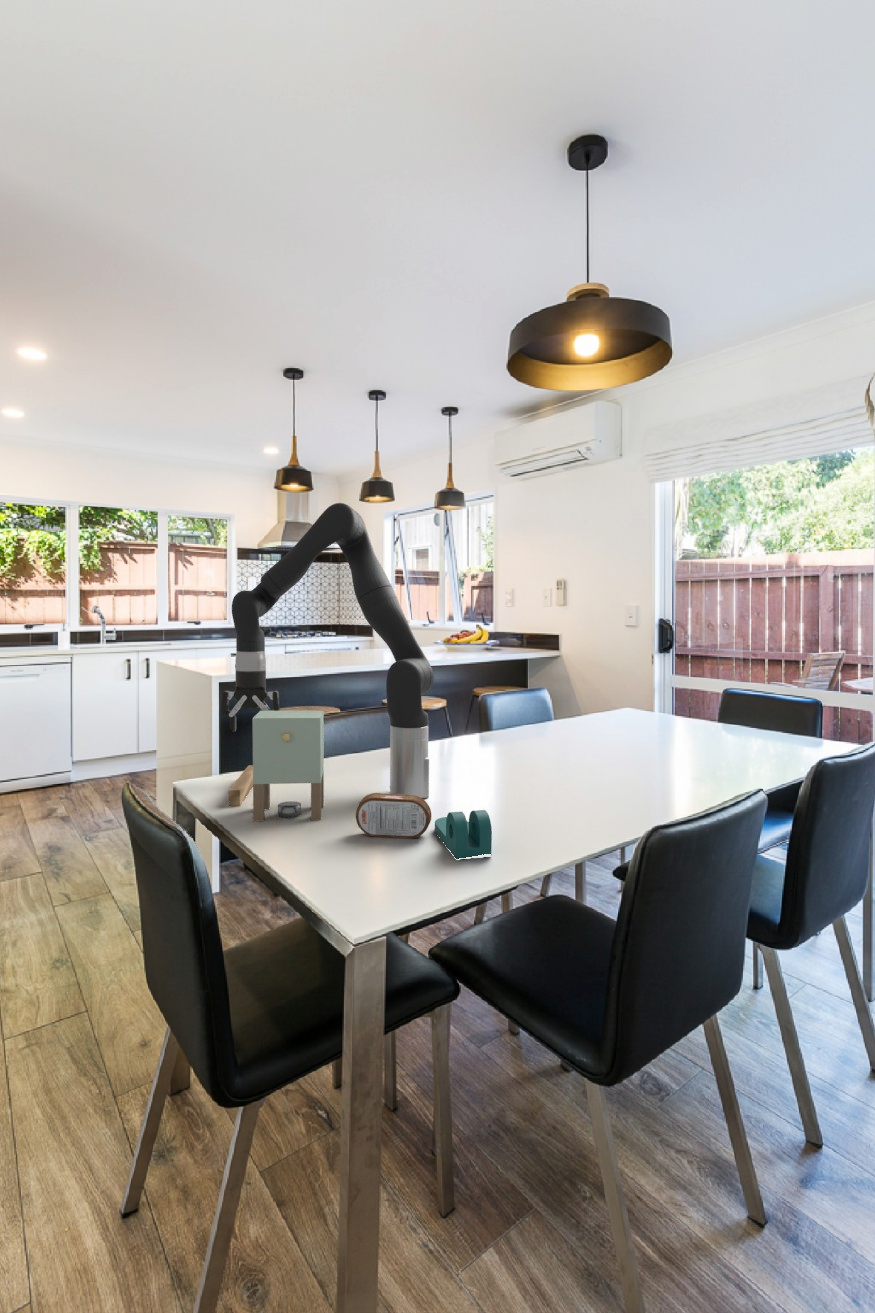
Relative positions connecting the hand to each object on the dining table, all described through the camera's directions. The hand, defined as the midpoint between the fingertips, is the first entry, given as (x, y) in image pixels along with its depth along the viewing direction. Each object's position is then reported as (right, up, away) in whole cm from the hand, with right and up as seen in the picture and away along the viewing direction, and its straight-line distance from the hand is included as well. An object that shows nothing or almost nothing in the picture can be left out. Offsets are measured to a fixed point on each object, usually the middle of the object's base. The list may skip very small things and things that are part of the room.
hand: (251, 730), depth 165 cm
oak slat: (+1, -14, -9) cm, 17 cm away
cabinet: (+16, -15, -25) cm, 33 cm away
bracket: (+53, -17, -41) cm, 69 cm away
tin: (+39, -17, -38) cm, 58 cm away
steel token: (+16, -16, -26) cm, 34 cm away
